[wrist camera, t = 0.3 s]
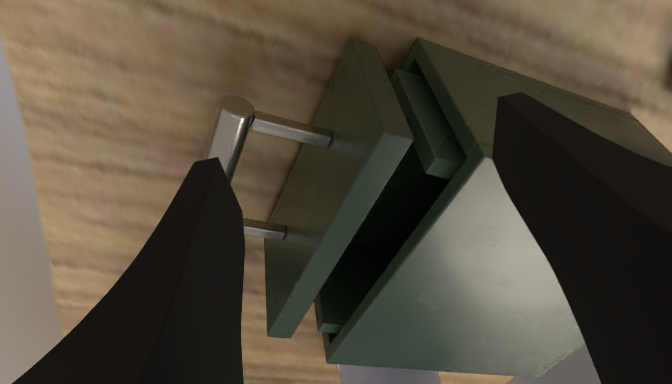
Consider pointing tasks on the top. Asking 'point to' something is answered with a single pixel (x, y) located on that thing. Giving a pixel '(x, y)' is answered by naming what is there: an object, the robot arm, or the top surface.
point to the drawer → (343, 185)
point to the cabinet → (476, 245)
